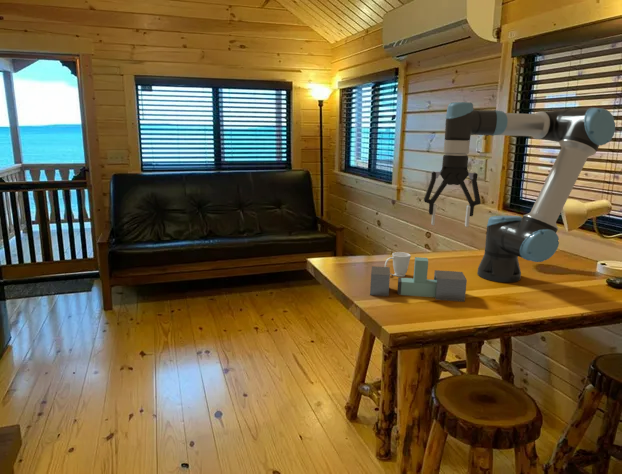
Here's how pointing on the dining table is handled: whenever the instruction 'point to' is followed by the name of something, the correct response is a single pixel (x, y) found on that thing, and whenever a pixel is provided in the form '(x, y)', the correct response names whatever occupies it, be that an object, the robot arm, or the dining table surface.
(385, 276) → the socket
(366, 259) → the dining table surface
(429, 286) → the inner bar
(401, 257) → the cup
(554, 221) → the robot arm
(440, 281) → the gray block
